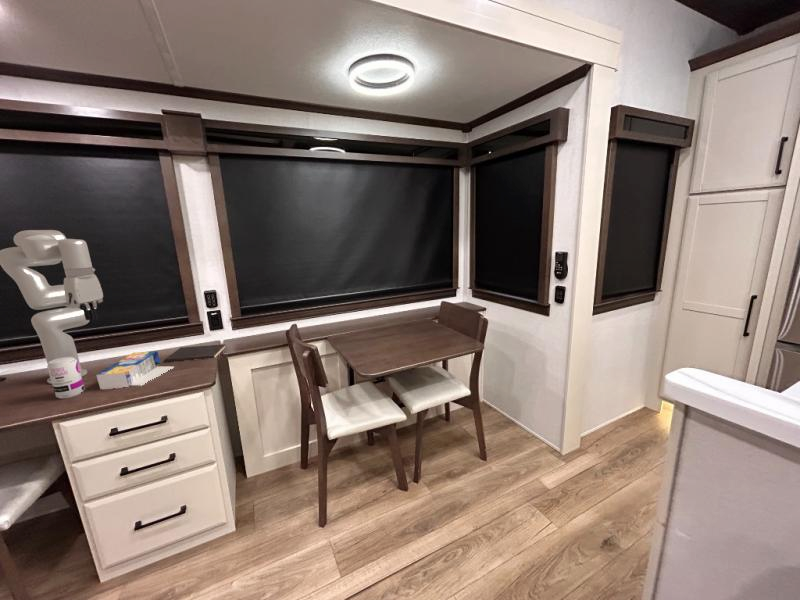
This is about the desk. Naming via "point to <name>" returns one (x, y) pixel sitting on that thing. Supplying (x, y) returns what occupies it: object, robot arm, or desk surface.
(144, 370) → the beverage box
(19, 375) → the desk surface
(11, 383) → the desk surface
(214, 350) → the hardcover book
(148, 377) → the mat
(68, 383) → the supplement can
